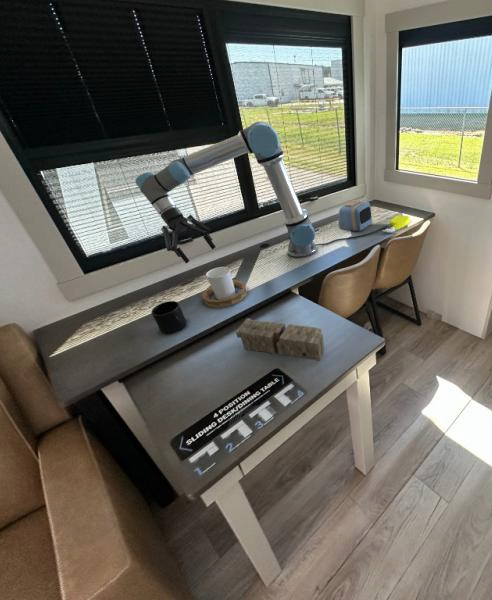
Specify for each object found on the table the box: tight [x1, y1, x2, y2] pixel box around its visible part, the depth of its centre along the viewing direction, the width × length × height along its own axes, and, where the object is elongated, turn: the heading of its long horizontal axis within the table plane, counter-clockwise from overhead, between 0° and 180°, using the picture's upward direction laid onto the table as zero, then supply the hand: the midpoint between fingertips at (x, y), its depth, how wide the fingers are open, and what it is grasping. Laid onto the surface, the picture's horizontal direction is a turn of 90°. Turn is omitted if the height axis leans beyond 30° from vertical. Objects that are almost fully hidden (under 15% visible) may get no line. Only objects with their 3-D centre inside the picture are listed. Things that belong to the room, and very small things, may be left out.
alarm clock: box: [338, 199, 373, 232], centre depth 195 cm, size 16×16×16 cm
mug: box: [150, 300, 188, 335], centre depth 119 cm, size 9×12×9 cm
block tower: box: [235, 317, 325, 361], centre depth 106 cm, size 8×8×29 cm
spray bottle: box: [382, 214, 411, 234], centre depth 194 cm, size 3×11×24 cm
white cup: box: [205, 266, 237, 300], centre depth 136 cm, size 10×10×12 cm
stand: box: [202, 279, 248, 309], centre depth 138 cm, size 18×18×3 cm
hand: (201, 255), depth 135 cm, fingers open, 13 cm apart
